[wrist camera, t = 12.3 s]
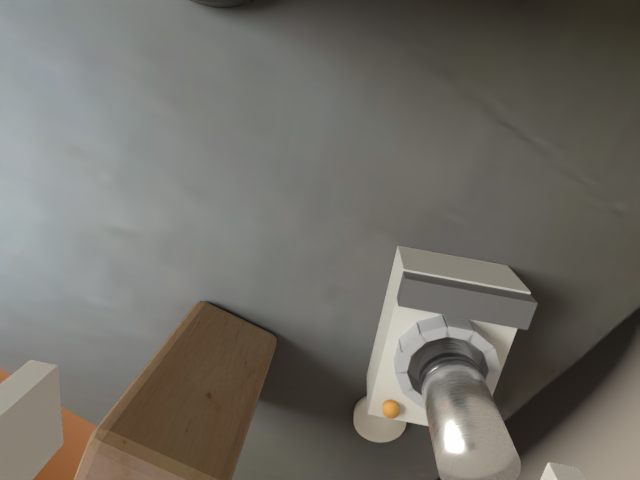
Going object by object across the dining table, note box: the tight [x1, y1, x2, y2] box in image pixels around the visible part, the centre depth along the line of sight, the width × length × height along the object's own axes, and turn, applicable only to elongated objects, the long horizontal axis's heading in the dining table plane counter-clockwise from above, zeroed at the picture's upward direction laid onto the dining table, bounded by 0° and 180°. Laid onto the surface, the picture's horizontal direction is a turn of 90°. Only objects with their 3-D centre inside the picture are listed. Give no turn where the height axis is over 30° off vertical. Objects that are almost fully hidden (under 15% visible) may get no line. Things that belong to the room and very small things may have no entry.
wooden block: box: [74, 301, 277, 480], centre depth 38 cm, size 10×10×20 cm
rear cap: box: [353, 396, 406, 443], centre depth 48 cm, size 6×6×2 cm
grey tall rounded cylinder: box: [415, 337, 521, 480], centre depth 32 cm, size 5×5×12 cm
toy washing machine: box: [367, 246, 538, 426], centre depth 40 cm, size 16×11×8 cm
